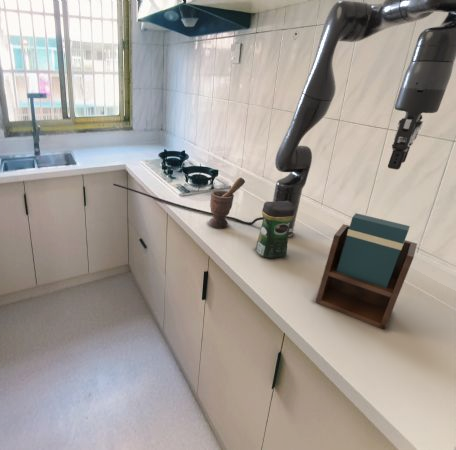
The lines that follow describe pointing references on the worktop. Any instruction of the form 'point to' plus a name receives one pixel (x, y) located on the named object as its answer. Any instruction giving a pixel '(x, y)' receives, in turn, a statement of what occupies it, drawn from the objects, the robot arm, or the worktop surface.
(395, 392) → the worktop surface
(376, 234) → the book
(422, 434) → the worktop surface
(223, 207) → the mortar and pestle
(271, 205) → the coffee jar
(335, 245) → the bookshelf
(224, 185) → the worktop surface
